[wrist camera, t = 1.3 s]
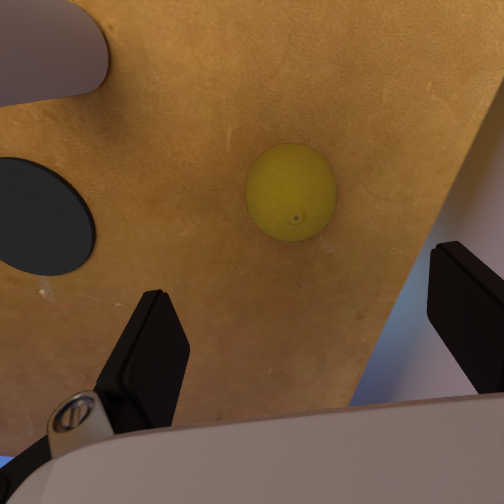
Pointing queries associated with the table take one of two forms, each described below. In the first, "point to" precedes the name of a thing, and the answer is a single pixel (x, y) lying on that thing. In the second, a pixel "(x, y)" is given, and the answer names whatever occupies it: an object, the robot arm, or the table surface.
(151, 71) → the table surface
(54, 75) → the beverage can
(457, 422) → the robot arm
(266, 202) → the lemon
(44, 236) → the disc
